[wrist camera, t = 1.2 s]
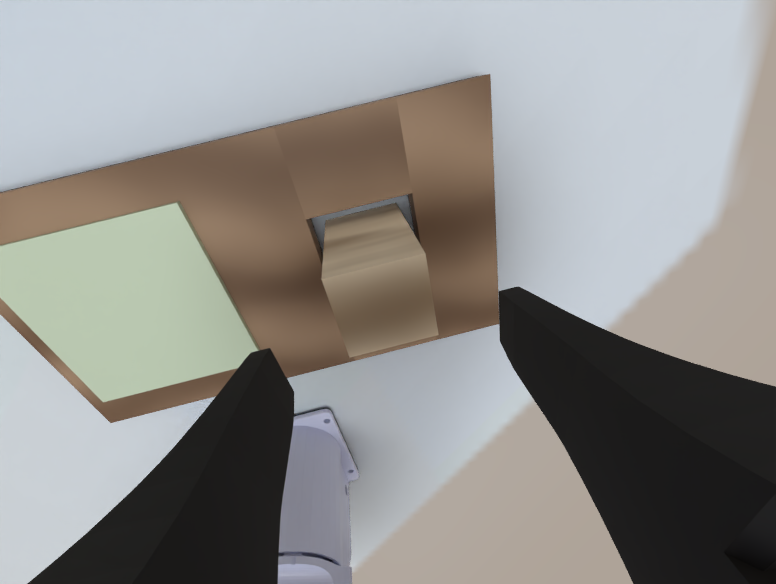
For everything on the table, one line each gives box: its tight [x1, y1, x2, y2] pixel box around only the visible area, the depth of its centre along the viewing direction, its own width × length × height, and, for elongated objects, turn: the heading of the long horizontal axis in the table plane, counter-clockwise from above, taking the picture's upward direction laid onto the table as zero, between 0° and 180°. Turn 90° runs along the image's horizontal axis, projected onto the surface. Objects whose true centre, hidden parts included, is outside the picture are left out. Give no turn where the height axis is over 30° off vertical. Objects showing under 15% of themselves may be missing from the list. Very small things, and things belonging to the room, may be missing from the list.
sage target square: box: [0, 201, 260, 402], centre depth 18 cm, size 10×10×1 cm
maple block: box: [321, 203, 439, 357], centre depth 16 cm, size 4×4×7 cm
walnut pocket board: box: [0, 74, 499, 423], centre depth 19 cm, size 14×26×2 cm, turn 102°
